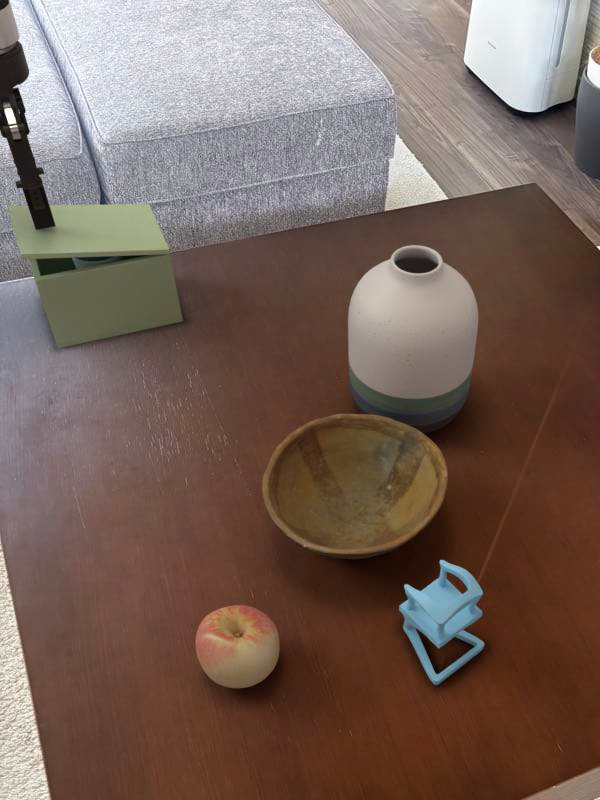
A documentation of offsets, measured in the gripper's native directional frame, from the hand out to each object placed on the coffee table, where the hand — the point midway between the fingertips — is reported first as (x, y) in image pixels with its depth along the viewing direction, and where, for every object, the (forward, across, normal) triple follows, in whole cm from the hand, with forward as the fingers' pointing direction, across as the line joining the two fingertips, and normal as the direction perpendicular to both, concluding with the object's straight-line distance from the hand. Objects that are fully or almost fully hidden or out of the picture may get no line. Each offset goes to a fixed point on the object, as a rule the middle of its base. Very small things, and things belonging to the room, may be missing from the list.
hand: (44, 225), depth 120 cm
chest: (+16, 0, +6) cm, 17 cm away
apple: (+16, +68, +6) cm, 71 cm away
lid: (+2, 0, +6) cm, 6 cm away
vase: (+16, +36, +40) cm, 57 cm away
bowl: (+16, +55, +25) cm, 62 cm away
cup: (+15, 0, +6) cm, 16 cm away
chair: (+16, +74, +28) cm, 81 cm away
